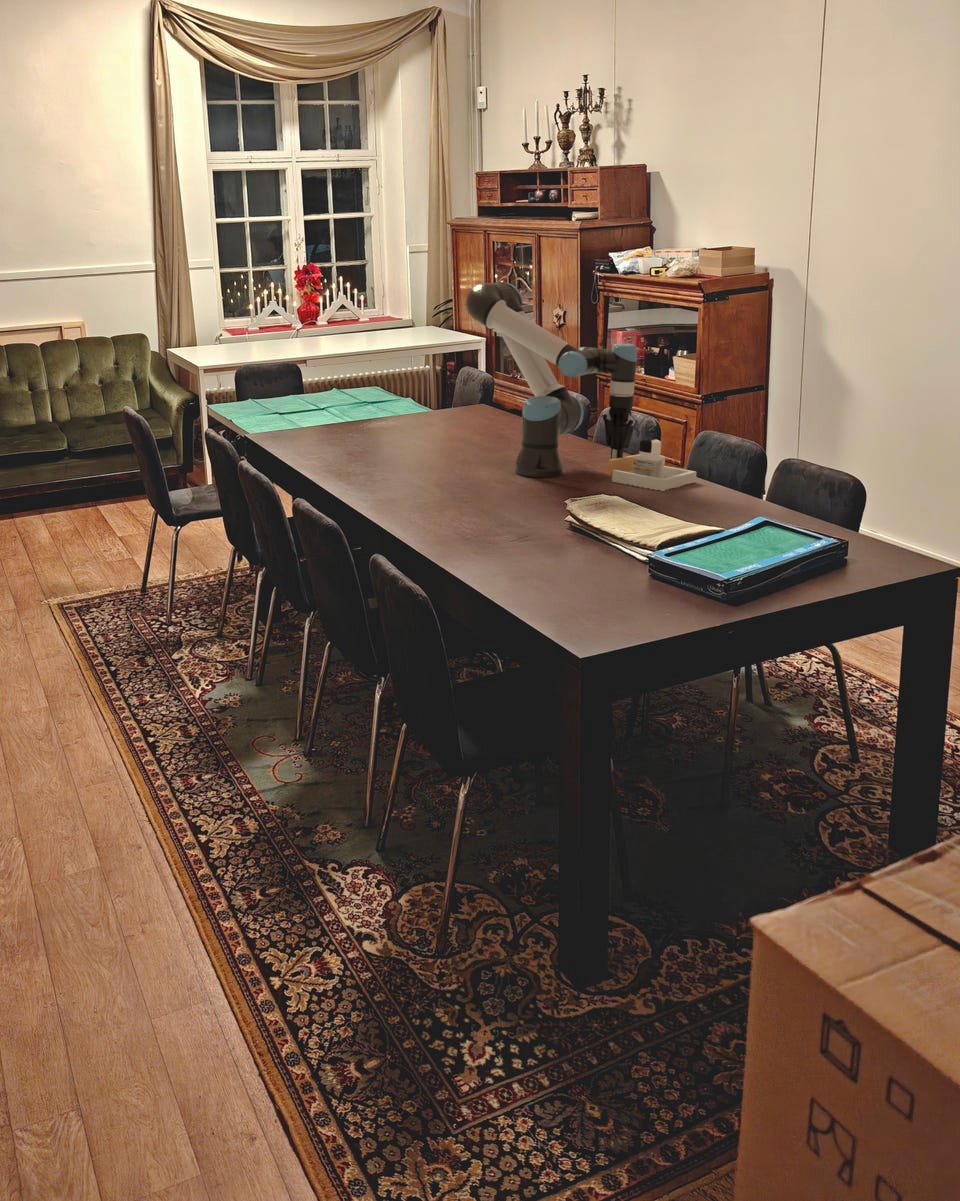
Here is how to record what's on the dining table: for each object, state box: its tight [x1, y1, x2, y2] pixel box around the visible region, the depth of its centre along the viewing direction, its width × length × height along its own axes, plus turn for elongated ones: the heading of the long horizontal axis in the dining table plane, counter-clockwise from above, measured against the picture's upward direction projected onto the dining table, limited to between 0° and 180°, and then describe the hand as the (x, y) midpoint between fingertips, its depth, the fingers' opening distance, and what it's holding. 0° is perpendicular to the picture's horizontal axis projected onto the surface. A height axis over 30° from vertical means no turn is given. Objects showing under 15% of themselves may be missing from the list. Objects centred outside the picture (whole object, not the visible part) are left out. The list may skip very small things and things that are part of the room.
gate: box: [607, 453, 640, 476], centre depth 362 cm, size 20×2×6 cm, turn 136°
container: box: [631, 438, 666, 479], centre depth 354 cm, size 8×8×13 cm
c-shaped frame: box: [611, 465, 698, 492], centre depth 354 cm, size 19×18×4 cm
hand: (615, 469), depth 362 cm, fingers closed
